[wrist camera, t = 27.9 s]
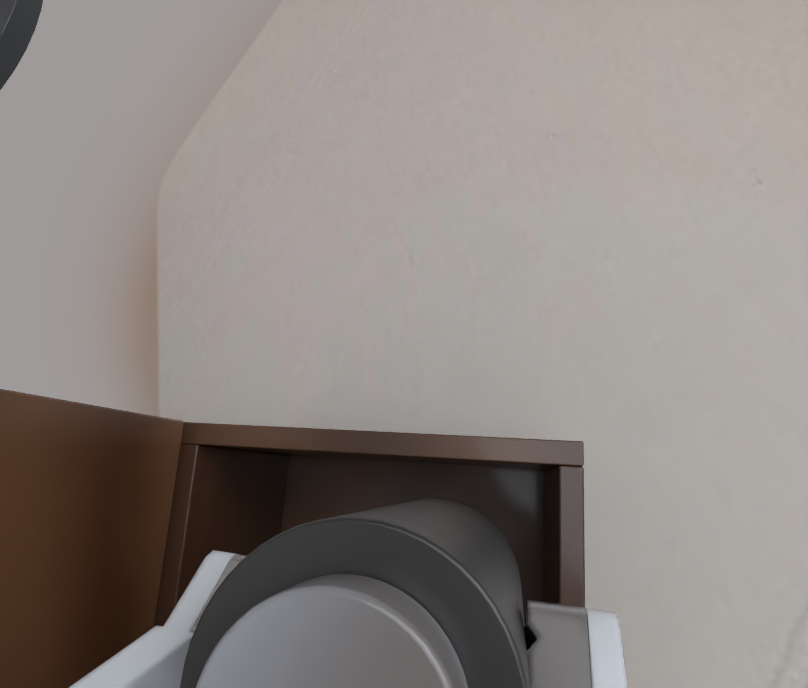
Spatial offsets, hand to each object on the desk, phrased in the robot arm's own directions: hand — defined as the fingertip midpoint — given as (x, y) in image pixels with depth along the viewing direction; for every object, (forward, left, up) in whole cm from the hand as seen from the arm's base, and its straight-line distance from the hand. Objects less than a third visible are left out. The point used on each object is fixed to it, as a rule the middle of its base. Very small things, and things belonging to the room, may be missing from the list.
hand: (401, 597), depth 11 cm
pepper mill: (0, -1, -5) cm, 5 cm away
